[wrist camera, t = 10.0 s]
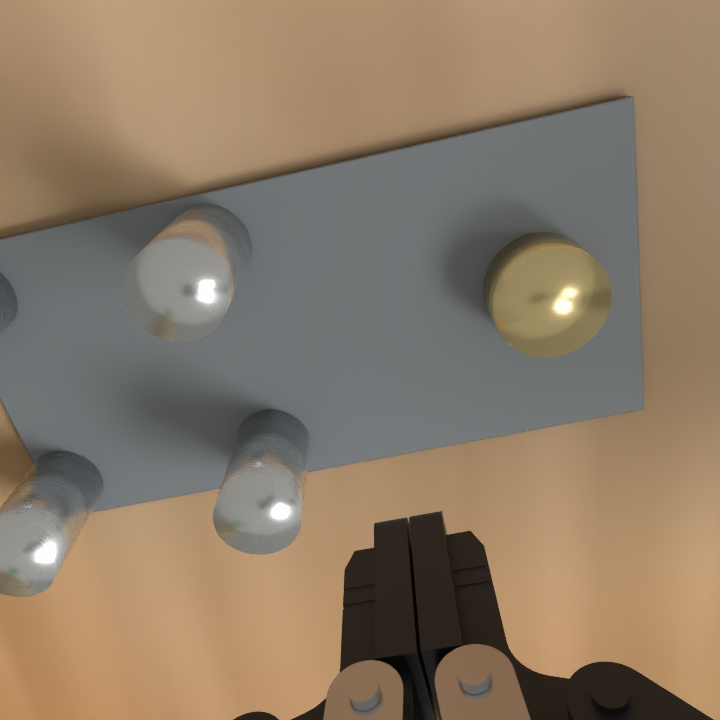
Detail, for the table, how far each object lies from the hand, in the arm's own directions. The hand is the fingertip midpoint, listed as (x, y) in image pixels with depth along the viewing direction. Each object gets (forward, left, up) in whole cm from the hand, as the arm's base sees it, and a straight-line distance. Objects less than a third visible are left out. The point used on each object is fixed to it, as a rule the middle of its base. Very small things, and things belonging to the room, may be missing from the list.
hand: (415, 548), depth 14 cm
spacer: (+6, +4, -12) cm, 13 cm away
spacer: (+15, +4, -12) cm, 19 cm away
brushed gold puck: (-6, -1, -12) cm, 13 cm away
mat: (+3, -1, -12) cm, 13 cm away
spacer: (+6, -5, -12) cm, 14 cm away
